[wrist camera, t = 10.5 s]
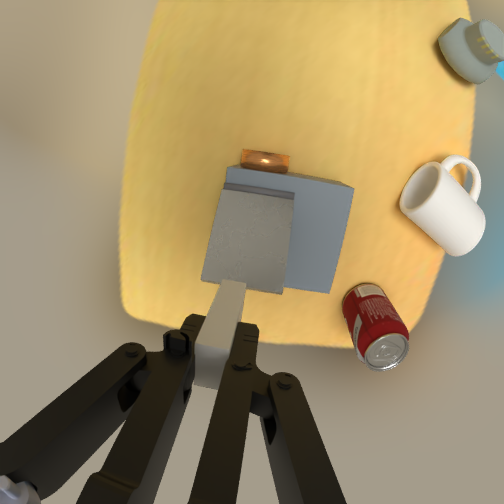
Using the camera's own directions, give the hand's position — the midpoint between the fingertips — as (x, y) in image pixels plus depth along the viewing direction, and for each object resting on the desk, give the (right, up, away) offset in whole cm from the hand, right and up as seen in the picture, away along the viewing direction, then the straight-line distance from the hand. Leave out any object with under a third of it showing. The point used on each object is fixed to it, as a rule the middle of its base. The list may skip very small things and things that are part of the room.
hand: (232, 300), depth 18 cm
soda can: (+17, -4, +21) cm, 28 cm away
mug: (+27, +11, +14) cm, 33 cm away
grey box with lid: (+5, +7, +18) cm, 20 cm away
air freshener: (+32, +32, +6) cm, 46 cm away
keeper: (+1, +4, +8) cm, 9 cm away
